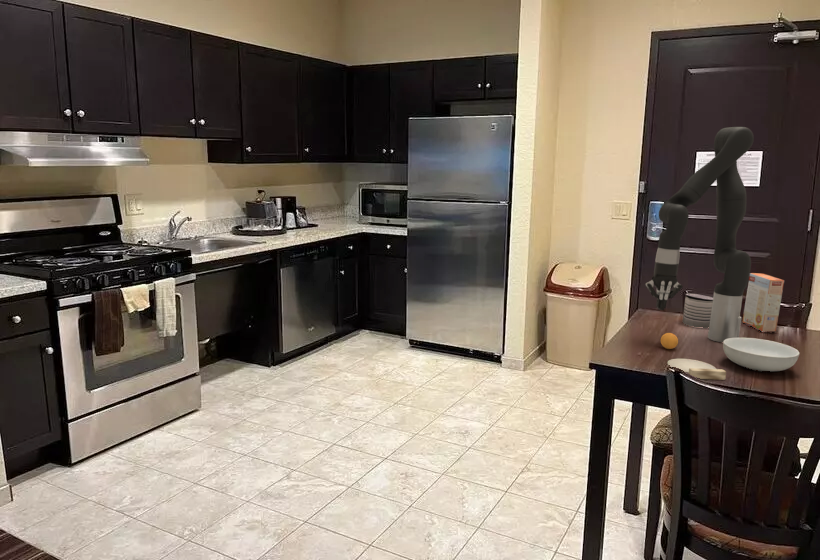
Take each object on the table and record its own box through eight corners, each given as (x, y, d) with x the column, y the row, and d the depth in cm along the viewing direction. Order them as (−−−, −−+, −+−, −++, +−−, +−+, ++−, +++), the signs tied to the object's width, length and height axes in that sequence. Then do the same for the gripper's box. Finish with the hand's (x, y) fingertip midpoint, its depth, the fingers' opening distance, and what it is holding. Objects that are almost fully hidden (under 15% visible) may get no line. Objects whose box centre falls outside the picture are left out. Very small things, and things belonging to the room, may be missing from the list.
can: (675, 321, 242) (679, 292, 240) (699, 320, 245) (703, 291, 243) (695, 329, 231) (699, 299, 229) (720, 328, 234) (724, 298, 232)
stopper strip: (721, 377, 179) (722, 369, 179) (725, 379, 177) (726, 371, 177) (688, 376, 179) (689, 368, 179) (691, 378, 177) (692, 370, 177)
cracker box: (776, 333, 229) (785, 280, 225) (760, 333, 229) (769, 279, 225) (756, 323, 243) (764, 272, 239) (741, 323, 243) (749, 272, 239)
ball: (674, 346, 208) (676, 331, 207) (678, 351, 202) (680, 336, 201) (658, 345, 209) (660, 330, 208) (661, 350, 203) (663, 334, 202)
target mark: (709, 361, 193) (709, 360, 193) (722, 376, 180) (722, 375, 180) (663, 357, 196) (663, 356, 196) (673, 371, 182) (673, 371, 182)
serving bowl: (781, 360, 198) (784, 340, 196) (807, 382, 178) (811, 360, 176) (713, 353, 202) (715, 333, 201) (730, 374, 182) (734, 352, 181)
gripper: (681, 260, 213) (674, 307, 216) (644, 258, 213) (638, 306, 216) (690, 264, 205) (683, 313, 209) (652, 262, 206) (645, 311, 209)
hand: (660, 309), depth 213 cm, fingers closed
